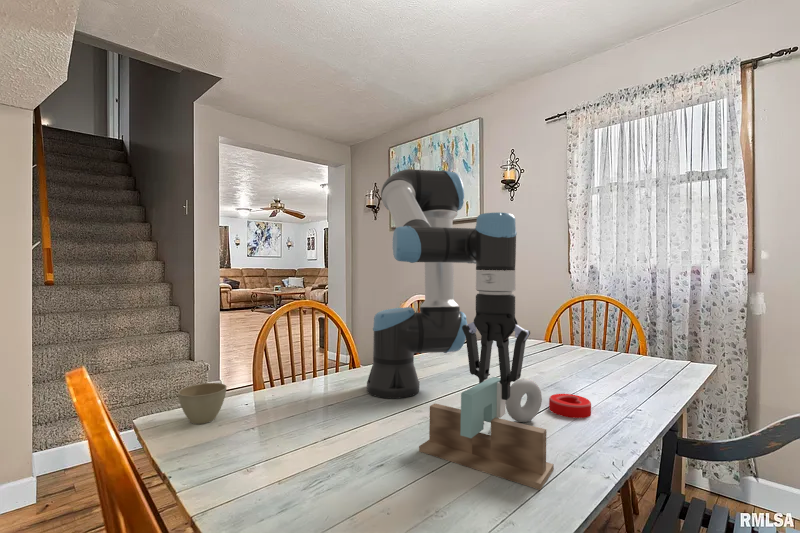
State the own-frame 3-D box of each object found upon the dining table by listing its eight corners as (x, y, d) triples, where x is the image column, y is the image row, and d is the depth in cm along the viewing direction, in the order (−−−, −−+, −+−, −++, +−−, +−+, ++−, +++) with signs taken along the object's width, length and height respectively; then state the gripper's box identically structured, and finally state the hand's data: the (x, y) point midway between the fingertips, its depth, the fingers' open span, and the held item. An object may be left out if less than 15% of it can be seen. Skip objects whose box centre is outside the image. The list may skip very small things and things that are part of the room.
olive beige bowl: (216, 409, 100) (217, 380, 100) (233, 420, 93) (233, 389, 93) (171, 419, 93) (172, 388, 93) (186, 432, 86) (186, 398, 86)
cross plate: (471, 438, 68) (471, 395, 68) (460, 435, 69) (461, 393, 69) (501, 415, 80) (502, 378, 80) (492, 413, 81) (492, 376, 81)
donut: (512, 428, 90) (512, 383, 90) (501, 422, 93) (502, 379, 93) (545, 420, 95) (545, 377, 94) (533, 415, 98) (534, 374, 98)
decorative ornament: (541, 406, 105) (542, 394, 105) (575, 404, 107) (575, 392, 107) (563, 420, 96) (563, 406, 96) (599, 417, 97) (600, 404, 97)
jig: (419, 451, 78) (419, 409, 78) (439, 437, 85) (439, 398, 85) (540, 490, 65) (540, 440, 65) (553, 469, 72) (554, 424, 72)
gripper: (451, 292, 80) (450, 411, 80) (528, 295, 72) (526, 429, 72) (468, 290, 86) (467, 401, 86) (540, 293, 78) (539, 416, 78)
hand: (494, 413), depth 79 cm, fingers closed on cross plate, 2 cm apart
